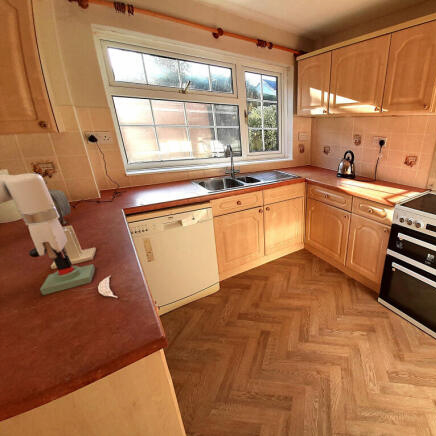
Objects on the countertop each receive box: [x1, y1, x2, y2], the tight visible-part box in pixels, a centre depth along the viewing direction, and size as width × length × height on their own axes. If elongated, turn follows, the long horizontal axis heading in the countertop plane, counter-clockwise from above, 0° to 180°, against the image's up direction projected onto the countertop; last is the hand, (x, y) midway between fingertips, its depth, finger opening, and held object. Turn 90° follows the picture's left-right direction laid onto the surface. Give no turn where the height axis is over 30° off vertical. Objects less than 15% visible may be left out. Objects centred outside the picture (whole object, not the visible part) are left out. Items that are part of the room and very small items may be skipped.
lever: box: [28, 228, 72, 258], centre depth 90 cm, size 14×3×3 cm
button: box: [57, 265, 74, 275], centre depth 80 cm, size 4×4×2 cm
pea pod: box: [97, 275, 119, 299], centre depth 76 cm, size 15×4×2 cm, turn 39°
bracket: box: [50, 225, 97, 270], centre depth 93 cm, size 12×9×13 cm
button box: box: [39, 263, 96, 296], centre depth 81 cm, size 12×9×4 cm
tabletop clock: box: [43, 178, 72, 225], centre depth 125 cm, size 14×9×25 cm, turn 102°
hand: (65, 267), depth 79 cm, fingers closed
